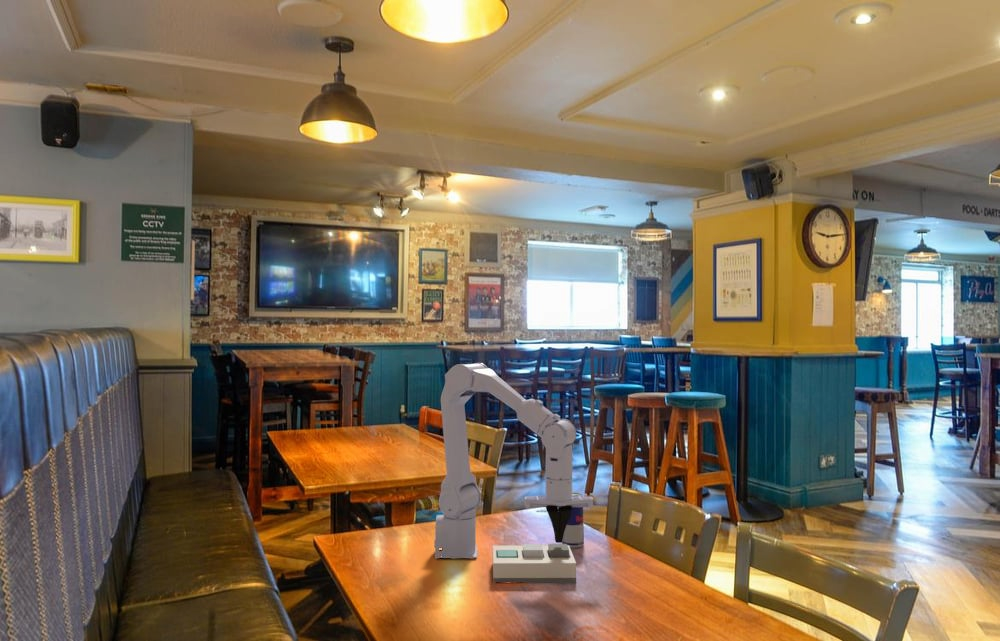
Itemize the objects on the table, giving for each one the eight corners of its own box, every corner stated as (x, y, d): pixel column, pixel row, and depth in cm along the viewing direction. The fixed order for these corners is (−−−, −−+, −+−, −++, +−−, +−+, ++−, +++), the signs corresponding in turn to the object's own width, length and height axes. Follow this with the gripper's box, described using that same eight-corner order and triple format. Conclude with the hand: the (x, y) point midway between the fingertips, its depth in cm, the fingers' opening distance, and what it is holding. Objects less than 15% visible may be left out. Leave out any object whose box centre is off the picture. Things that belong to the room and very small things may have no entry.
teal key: (497, 571, 137) (498, 556, 137) (497, 564, 141) (497, 549, 141) (516, 571, 137) (517, 556, 137) (515, 564, 141) (516, 549, 141)
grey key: (524, 565, 137) (524, 550, 137) (522, 558, 141) (523, 543, 141) (543, 565, 137) (543, 550, 137) (541, 558, 141) (541, 543, 141)
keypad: (493, 582, 133) (493, 563, 133) (492, 563, 144) (492, 545, 144) (576, 582, 133) (576, 563, 133) (569, 563, 144) (569, 545, 144)
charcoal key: (550, 565, 137) (550, 550, 137) (548, 558, 141) (548, 543, 141) (569, 565, 137) (569, 550, 137) (566, 558, 141) (566, 543, 141)
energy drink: (584, 548, 154) (583, 497, 154) (561, 548, 154) (560, 497, 155) (583, 541, 159) (582, 492, 160) (561, 541, 160) (560, 492, 160)
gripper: (526, 481, 135) (526, 547, 135) (595, 481, 135) (595, 547, 135) (524, 474, 142) (523, 536, 142) (590, 474, 142) (590, 536, 142)
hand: (558, 541), depth 139 cm, fingers closed
